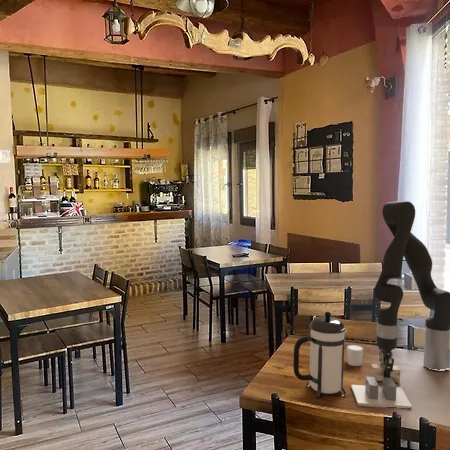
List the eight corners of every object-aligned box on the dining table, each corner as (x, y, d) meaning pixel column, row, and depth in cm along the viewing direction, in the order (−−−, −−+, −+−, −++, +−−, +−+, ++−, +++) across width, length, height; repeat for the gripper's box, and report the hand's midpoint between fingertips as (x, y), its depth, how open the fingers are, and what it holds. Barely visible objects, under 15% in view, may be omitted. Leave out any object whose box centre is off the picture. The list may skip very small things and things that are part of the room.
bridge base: (400, 390, 164) (401, 374, 163) (412, 409, 150) (412, 392, 150) (351, 387, 166) (351, 371, 166) (357, 405, 152) (358, 389, 152)
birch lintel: (397, 378, 173) (398, 365, 173) (399, 382, 169) (400, 370, 169) (371, 375, 175) (371, 363, 175) (372, 380, 171) (373, 368, 171)
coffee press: (314, 377, 174) (316, 303, 171) (353, 389, 164) (355, 311, 161) (291, 393, 161) (293, 313, 158) (332, 407, 151) (334, 322, 148)
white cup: (361, 360, 191) (361, 344, 191) (364, 367, 185) (365, 350, 184) (344, 359, 192) (345, 344, 191) (347, 366, 185) (348, 350, 185)
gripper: (402, 341, 163) (400, 386, 165) (392, 329, 177) (390, 370, 179) (381, 340, 164) (379, 385, 166) (372, 328, 178) (371, 369, 180)
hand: (385, 377), depth 172 cm, fingers closed on birch lintel, 4 cm apart
